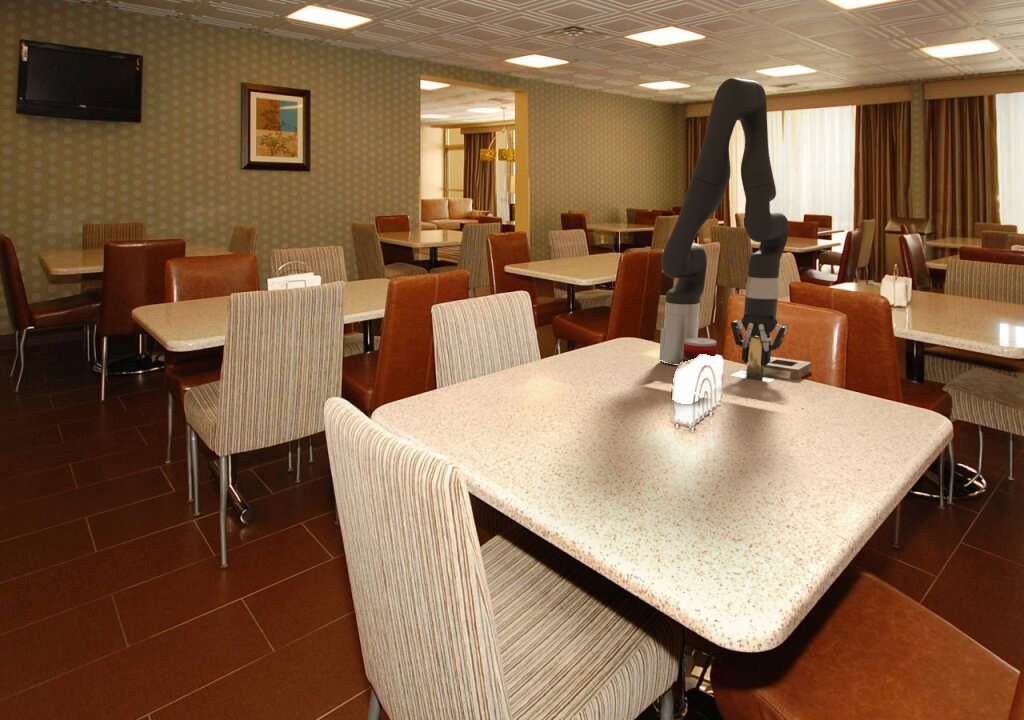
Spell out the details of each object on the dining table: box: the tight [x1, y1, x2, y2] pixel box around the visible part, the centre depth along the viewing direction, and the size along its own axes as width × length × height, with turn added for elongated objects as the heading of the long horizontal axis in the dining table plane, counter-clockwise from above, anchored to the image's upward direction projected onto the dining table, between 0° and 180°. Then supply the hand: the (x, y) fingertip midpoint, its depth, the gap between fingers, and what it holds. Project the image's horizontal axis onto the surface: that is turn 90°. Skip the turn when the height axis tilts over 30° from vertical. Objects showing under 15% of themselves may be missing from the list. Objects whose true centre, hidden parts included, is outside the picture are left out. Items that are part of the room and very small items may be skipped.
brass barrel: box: [746, 336, 764, 378], centre depth 168 cm, size 4×4×10 cm
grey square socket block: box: [763, 356, 812, 381], centre depth 173 cm, size 10×11×4 cm
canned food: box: [683, 337, 718, 362], centre depth 166 cm, size 8×8×11 cm
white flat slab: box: [729, 370, 780, 383], centre depth 169 cm, size 10×7×2 cm
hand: (755, 363), depth 168 cm, fingers closed on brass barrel, 4 cm apart
